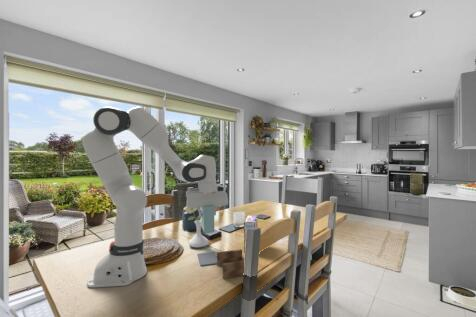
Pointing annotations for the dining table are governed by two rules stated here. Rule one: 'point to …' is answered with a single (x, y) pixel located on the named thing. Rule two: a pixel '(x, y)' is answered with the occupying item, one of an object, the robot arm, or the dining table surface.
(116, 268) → the robot arm
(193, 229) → the canister
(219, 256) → the walnut rack
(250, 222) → the candy box
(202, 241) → the flower in vase
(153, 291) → the dining table surface
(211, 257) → the slate coaster
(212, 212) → the teal block
